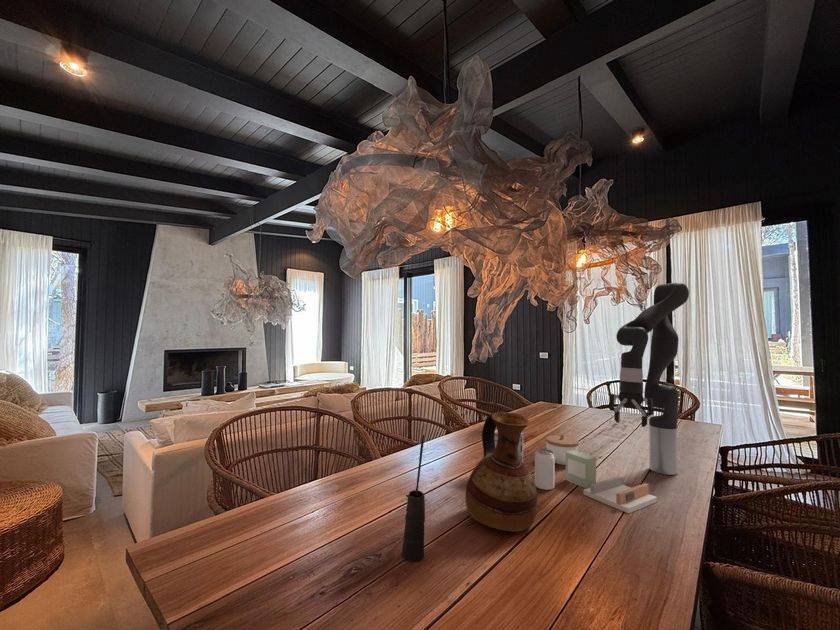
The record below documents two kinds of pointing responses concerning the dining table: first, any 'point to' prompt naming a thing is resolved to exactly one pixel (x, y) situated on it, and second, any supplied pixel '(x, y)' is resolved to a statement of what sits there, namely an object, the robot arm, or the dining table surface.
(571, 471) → the carton
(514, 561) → the dining table surface
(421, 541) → the butter churn
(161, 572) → the dining table surface
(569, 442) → the lidded bowl
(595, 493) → the shelf
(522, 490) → the ceramic pitcher
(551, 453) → the can
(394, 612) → the dining table surface
